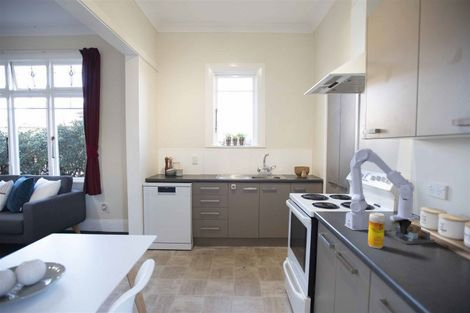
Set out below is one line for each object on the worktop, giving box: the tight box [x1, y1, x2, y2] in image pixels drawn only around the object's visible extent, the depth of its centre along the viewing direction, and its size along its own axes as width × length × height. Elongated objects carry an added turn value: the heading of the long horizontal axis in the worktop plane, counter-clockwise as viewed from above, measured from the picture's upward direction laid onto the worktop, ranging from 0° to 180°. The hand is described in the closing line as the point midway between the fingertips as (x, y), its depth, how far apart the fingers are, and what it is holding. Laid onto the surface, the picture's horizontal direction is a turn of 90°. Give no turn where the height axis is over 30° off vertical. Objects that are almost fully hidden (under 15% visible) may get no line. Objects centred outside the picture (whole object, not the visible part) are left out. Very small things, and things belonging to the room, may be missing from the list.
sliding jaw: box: [395, 225, 418, 240], centre depth 121 cm, size 3×10×3 cm, turn 10°
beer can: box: [367, 211, 386, 249], centre depth 111 cm, size 6×6×15 cm
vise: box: [385, 228, 435, 245], centre depth 121 cm, size 16×12×4 cm
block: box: [408, 223, 422, 237], centre depth 121 cm, size 4×4×5 cm
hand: (403, 234), depth 120 cm, fingers closed, pressing on sliding jaw
